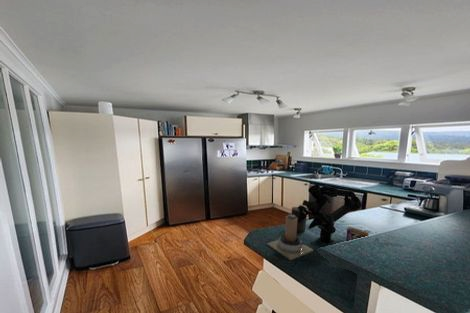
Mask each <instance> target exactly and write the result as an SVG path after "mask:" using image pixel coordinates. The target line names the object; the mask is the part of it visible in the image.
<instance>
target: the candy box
mask: <svg viewBox="0 0 470 313" xmlns="http://www.w3.org/2000/svg"><path fill="white" fill-rule="evenodd" d="M369 234H370V233H369V231H366V230H362V229H359V228H356V227H355V228H354V227H352V226H348V227H347V228H346V238H345V242H346V241H349V240H353V239H357V238H361V237H365V236H368V237H369Z"/></svg>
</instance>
